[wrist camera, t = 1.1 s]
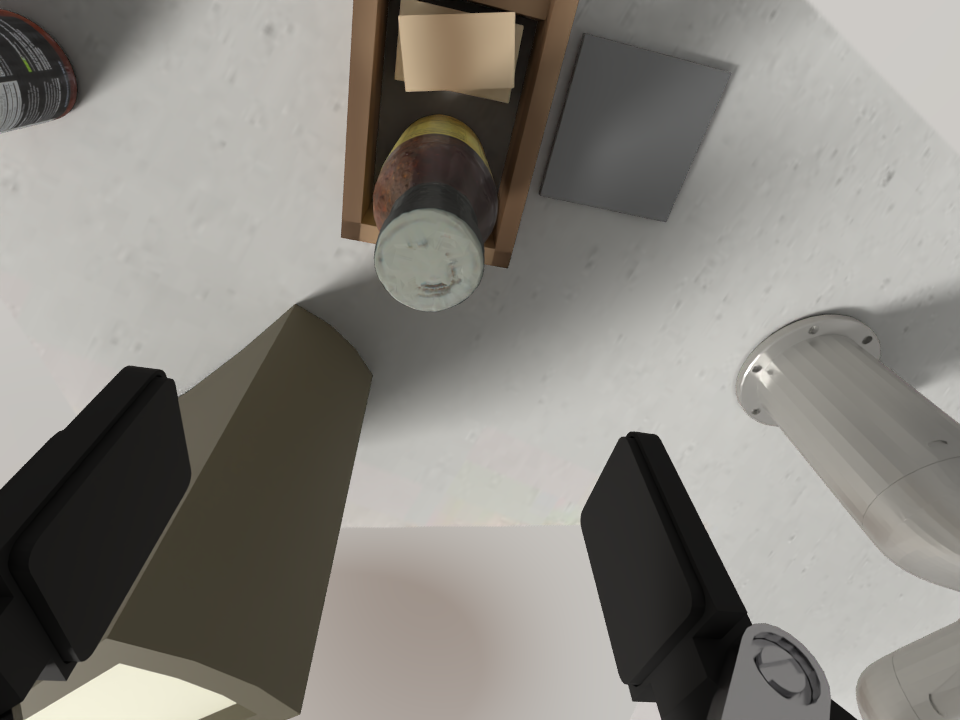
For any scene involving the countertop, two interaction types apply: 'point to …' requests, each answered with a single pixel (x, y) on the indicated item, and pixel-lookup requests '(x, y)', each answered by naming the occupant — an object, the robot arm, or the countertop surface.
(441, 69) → the offcut top
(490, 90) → the offcut low
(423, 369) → the countertop surface
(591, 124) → the mat
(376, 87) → the tray
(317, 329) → the book
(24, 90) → the supplement bottle
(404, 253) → the sauce bottle
